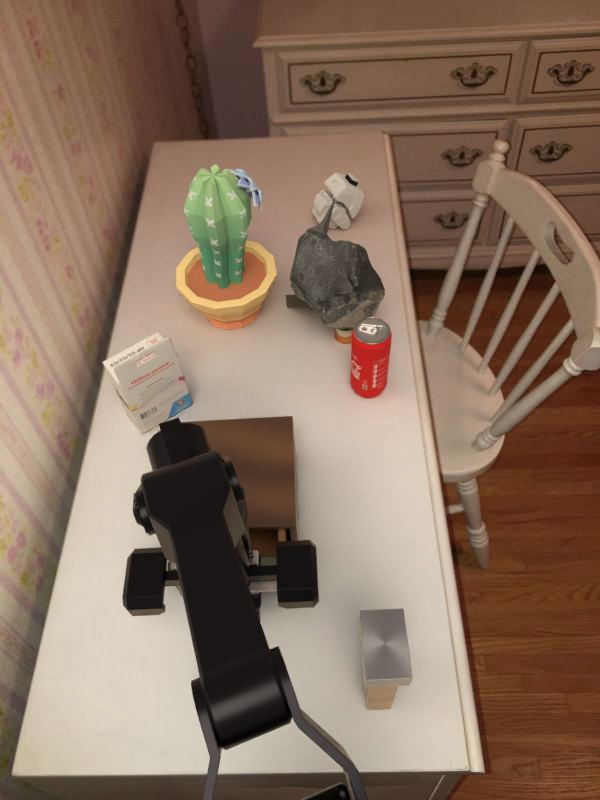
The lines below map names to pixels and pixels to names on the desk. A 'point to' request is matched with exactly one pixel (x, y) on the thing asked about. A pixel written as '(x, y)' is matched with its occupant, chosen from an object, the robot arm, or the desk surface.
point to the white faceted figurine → (339, 200)
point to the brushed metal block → (384, 648)
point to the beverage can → (370, 356)
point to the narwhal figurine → (334, 280)
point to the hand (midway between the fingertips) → (233, 605)
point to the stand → (380, 697)
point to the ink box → (149, 381)
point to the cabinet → (261, 467)
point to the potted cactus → (224, 250)
